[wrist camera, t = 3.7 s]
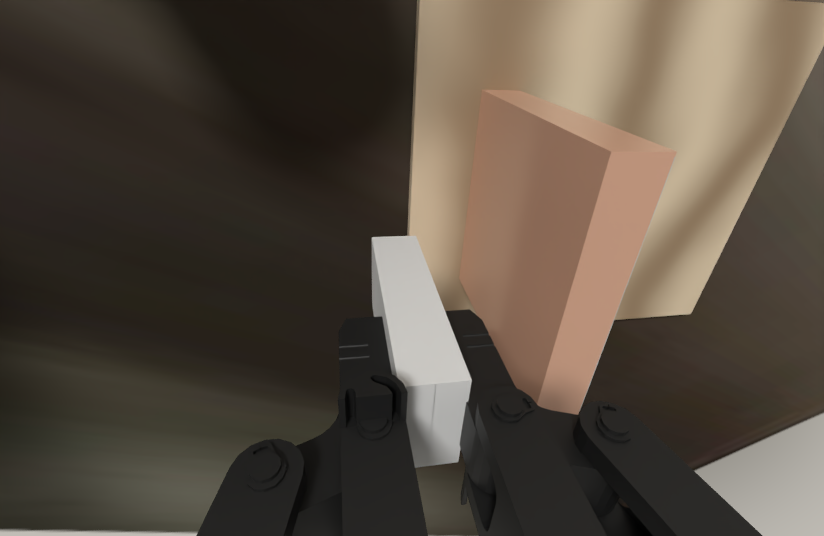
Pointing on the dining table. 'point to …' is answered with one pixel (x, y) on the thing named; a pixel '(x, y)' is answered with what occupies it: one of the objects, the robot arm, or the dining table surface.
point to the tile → (554, 237)
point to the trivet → (613, 113)
